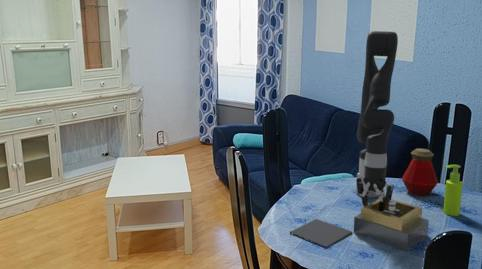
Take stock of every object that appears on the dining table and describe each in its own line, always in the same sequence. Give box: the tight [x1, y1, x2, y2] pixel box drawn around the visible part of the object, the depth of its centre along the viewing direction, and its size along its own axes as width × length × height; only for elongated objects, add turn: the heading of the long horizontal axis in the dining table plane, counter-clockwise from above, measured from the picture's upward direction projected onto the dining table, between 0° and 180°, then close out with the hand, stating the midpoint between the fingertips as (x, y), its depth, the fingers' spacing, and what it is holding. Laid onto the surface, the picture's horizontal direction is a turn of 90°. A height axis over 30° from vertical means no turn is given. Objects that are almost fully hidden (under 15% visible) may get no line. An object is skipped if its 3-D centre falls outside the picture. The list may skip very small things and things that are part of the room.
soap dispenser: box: [442, 164, 464, 217], centre depth 165 cm, size 6×7×20 cm
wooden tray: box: [360, 198, 423, 232], centre depth 149 cm, size 15×15×4 cm
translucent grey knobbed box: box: [353, 199, 430, 252], centre depth 149 cm, size 20×16×13 cm
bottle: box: [401, 148, 439, 197], centre depth 188 cm, size 16×14×20 cm
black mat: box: [289, 218, 353, 249], centre depth 152 cm, size 16×16×1 cm
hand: (373, 208), depth 153 cm, fingers open, 6 cm apart
